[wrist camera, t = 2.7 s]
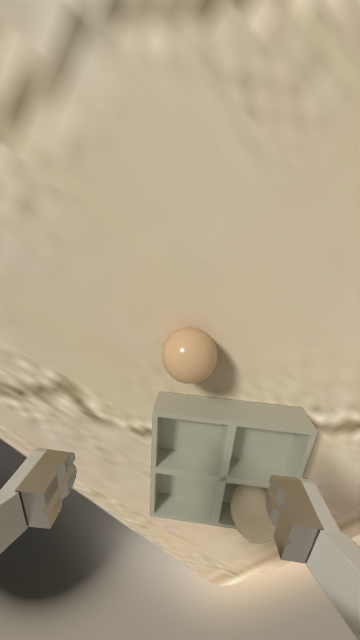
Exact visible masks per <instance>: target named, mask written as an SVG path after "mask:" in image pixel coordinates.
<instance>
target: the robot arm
mask: <svg viewBox="0 0 360 640" xmlns="http://www.w3.org/2000/svg"><path fill="white" fill-rule="evenodd" d="M74 460H75V455H74V453H72V452H65V451H57V450H50V449H43V448H37V449H36V450H34V451H33V452H32V453H31V454H30V455H29V457H28V458H27V459H26V460H25V462H24V463H23V464H22V465H21V466H20V468H19V469H18V470H17V471H16V472H15V473H14V475H13V476H12V477H11V478H10V479H9V480H8V482H7V483H6V484H5V485H4V486H3V488H2V489H1V490H0V553H1V552H3V551H4V550H5V549H6V548H7V547H8V546H9V545H10V544H11V543H12V542H13V541H14V540H15V539H16V538H17V537H18V536H20V535H21V534H22V533H23V532H24V531H25V530H26V529H27V526H29V527H39V528H51V526H52V524H53V522H54V520H55V519H56V517H57V515H58V513H59V511H60V509H61V508H62V504H61V500H62V499H63V498H64V497H66V496H67V495H68V494H69V492H70V490H71V489H72V487H73V484H74V481H75V478H76V466H75V465H74V464H73V461H74ZM269 483H270V487H269V488H268V489H267V490H266V495H265V498H266V508H267V513H268V517H269V520H270V521H271V522H272V523H273V525H274V526H275V531H274V538H275V541H276V545H277V548H278V551H279V555H280V558H281V559H282V560H288V561H294V562H300V563H306V566H307V568H308V569H309V570H310V572H311V573H312V575H313V576H314V578H315V579H316V581H317V582H318V583H319V585H320V586H321V588H322V589H323V591H324V592H325V593H326V595H327V596H328V598H329V599H330V600H331V602H332V604H333V605H334V606H335V608H336V609H337V611H338V612H339V613H340V615H341V616H342V618H343V619H344V621H345V622H346V624H347V625H348V626H349V628H350V629H351V631H352V632H353V634H354V635H355V637H356V638H357V639H358V640H360V547H359V546H358V545H357V544H356V543H355V542H354V541H353V540H352V539H351V538H350V537H349V536H348V535H347V534H346V533H343V532H341V531H340V529H339V527H338V525H337V524H336V522H335V520H334V518H333V516H332V514H331V512H330V511H329V509H328V507H327V505H326V503H325V501H324V499H323V498H322V496H321V494H320V492H319V490H318V488H317V487H316V485H315V483H314V482H313V481H312V480H311V479H304V478H297V477H288V476H278V475H272V476H270V479H269Z"/></svg>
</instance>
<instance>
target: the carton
mask: <svg viewBox="0 0 360 640" xmlns="http://www.w3.org/2000/svg"><path fill="white" fill-rule="evenodd" d="M317 433H318V431H317V429H316V428H315V426H314V425H313V423H312V422H311V420H310V419H309V417H308V416H307V414H306V413H305V411H304V410H303V408H302V407H293V406H284V405H275V404H266V403H257V402H248V401H239V400H230V399H221V398H212V397H203V396H194V395H185V394H176V393H167V392H158V395H157V398H156V402H155V405H154V409H153V413H152V450H151V488H150V516H154V517H161V518H168V519H174V520H181V521H187V522H194V523H201V524H207V525H214V526H221V527H227V528H234V529H237V528H236V526H235V524H234V522H233V519H232V515H231V510H230V502H231V497H232V493H233V492H234V490H235V488H236V487H237V486H238V485H240V484H241V485H248V486H255V487H263V488H264V489H266V490H267V489H268V488H269V487H270V483H269V479H270V476H272V475H278V476H288V477H297V478H302V476H303V473H304V470H305V467H306V464H307V462H308V459H309V456H310V453H311V450H312V447H313V444H314V442H315V439H316V436H317Z"/></svg>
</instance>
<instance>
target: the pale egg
mask: <svg viewBox="0 0 360 640" xmlns="http://www.w3.org/2000/svg"><path fill="white" fill-rule="evenodd" d="M265 495H266V489H264V488H263V487H255V486H248V485H241V484H240V485H238V486H237V487H236V488H235V490H234V492H233V493H232V497H231V502H230V510H231V515H232V519H233V522H234V524H235V526H236V528H237V529H238V531H239V532H240V533H241V534H242V535H243V537H245V538H246V539H247V540H249V541H251V542H253V543H257V544H263V543H266V542H268V541H270V540H271V539H272V538H273V537H274V531H275V526H274V525H273V523H272V522H271V521H270V520H269V517H268V513H267V508H266V498H265Z"/></svg>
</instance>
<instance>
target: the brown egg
mask: <svg viewBox="0 0 360 640" xmlns="http://www.w3.org/2000/svg"><path fill="white" fill-rule="evenodd" d="M217 359H218V353H217V348H216V345H215V343H214V341H213V339H212V338H211V337H210V336H209V335H208V334H207V333H206V332H204V331H203V330H200V329H198V328H193V327H186V328H181V329H179V330H177V331H175V332H173V333H172V334H171V335H170V336H169V337H168V338H167V340H166V341H165V343H164V346H163V350H162V361H163V365H164V367H165V369H166V371H167V372H168V374H169V375H170V376H171V377H172V378H174V379H175V380H177V381H179V382H182V383H186V384H194V383H198V382H201V381H203V380H205V379H206V378H207V377H209V376H210V375H211V373H212V372H213V371H214V369H215V367H216V364H217Z"/></svg>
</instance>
